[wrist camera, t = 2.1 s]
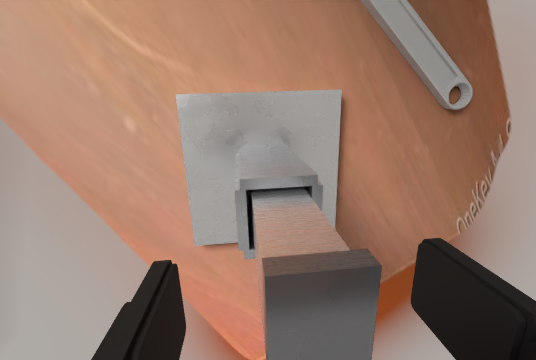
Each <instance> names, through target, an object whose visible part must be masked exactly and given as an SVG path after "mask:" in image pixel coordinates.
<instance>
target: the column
mask: <svg viewBox="0 0 536 360" xmlns="http://www.w3.org/2000/svg"><path fill="white" fill-rule="evenodd" d="M249 199H250V208H251V218H252V227H253V237H254V247H255V256H256V266H257V276H258V285H259V295H260V305H261V314H262V324H263V334H264V343H265V353H266V360H371V359H372V350H373V341H374V332H375V323H376V314H377V305H378V296H379V287H380V278H381V269H382V265H381V264H380V263H379V262H378V261H377V260H376V258H375V257H374V256H373V255H372V254H371V253H370V251H369V250H368V249H360V250H350V249H349V247H348V246H347V245H346V243H345V242H344V241H343V239H342V238H341V237H340V235H339V234H338V233H337V231H336V230H335V229H334V227H333V226H332V225H331V223H330V222H329V221H328V219H327V218H326V217H325V215H324V214H323V213H322V211H321V210H320V208H319V207H318V206H317V204H316V203H315V202H314V200H313V199H312V198H311V196H310V195H309V194H308V192H307V191H306V190H305V188H304V187H303V186H302V187H286V188H270V189H254V190H249Z"/></svg>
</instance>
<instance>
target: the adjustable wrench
mask: <svg viewBox="0 0 536 360" xmlns="http://www.w3.org/2000/svg"><path fill="white" fill-rule="evenodd" d="M360 1H361V2H362V4H363V5H364V6H365V8H366V9H367V10H368V12H369V13H370V14H371V15H372V17H373V18H374V19H375V21H376V22H377V23H378V25H379V26H380V27H381V28H382V30H383V31H384V32H385V34H386V35H387V36H388V37H389V39H390V40H391V41H392V43H393V44H394V45H395V47H396V48H397V49H398V50H399V52H400V53H401V54H402V56H403V57H404V58H405V59H406V61H407V62H408V63H409V65H410V66H411V67H412V69H413V70H414V71H415V72H416V74H417V75H418V76H419V78H420V79H421V80H422V81H423V83H424V84H425V85H426V87H427V88H428V89H429V91H430V92H431V93H432V94H433V96H434V97H435V98H436V100H437V101H438V102H439V103H440V105H441V106H442V107H443V108H445V109H454V110H456V109H461V108H464V107H465V106H466V105H467V104H468V103H469V102H470V100H471V98H472V94H473V90H472V86H471V84H470V83H469V82H468V80H467V79H466V78H465V76H464V75H463V74H462V72H461V71H460V70H459V68H458V67H457V66H456V64H455V63H454V62H453V60H452V59H451V58H450V57H449V55H448V54H447V53H446V51H445V50H444V49H443V47H442V46H441V45H440V43H439V42H438V41H437V39H436V38H435V37H434V35H433V34H432V33H431V31H430V30H429V29H428V27H427V26H426V25H425V23H424V22H423V21H422V20H421V18H420V17H419V16H418V14H417V13H416V12H415V10H414V9H413V8H412V6H411V5H410V4H409V2H408V1H407V0H360ZM454 86H457V87H459V89H460V92H461V94H460V98H459V100H458V101H457V102H456V103H455V104H450V102H449V93H450V91H451V89H452V88H453V87H454Z"/></svg>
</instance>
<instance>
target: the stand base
mask: <svg viewBox="0 0 536 360" xmlns="http://www.w3.org/2000/svg"><path fill="white" fill-rule="evenodd" d="M341 94H342V90H309V91H275V92H240V93H206V94H176V101H177V109H178V117H179V125H180V133H181V141H182V148H183V156H184V164H185V172H186V180H187V188H188V196H189V204H190V212H191V220H192V228H193V236H194V244H195V246H199V245H211V244H224V243H236V242H238V248H239V251H240V250H244V258H245V259H254V258H256V256H255V247H254V237H253V227H252V218H251V208H250V199H249V190H254V189H270V188H286V187H302V186H303V187H304V188H305V190H306V191H307V192H308V194H309V195H310V196H311V198H312V199H313V200H314V202H315V203H316V204H317V206H318V207H319V208H320V210H321V211H322V213H323V214H324V215H325V217H326V218H327V219H328V221H329V222H330V223H331V225H332V226H333V227H334V229H335V219H336V198H337V177H338V156H339V135H340V115H341Z"/></svg>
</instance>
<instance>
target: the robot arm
mask: <svg viewBox="0 0 536 360" xmlns="http://www.w3.org/2000/svg"><path fill="white" fill-rule="evenodd" d="M411 304H412V307H413V309H414V311H415V312H416V313H417V314H418V315H419V317H420V318H421V319H422V320H423V321H424V322H425V324H426V325H427V326H428V327H429V328H430V329H431V331H432V332H433V333H434V334H435V335H436V337H437V338H438V339H439V340H440V341H441V343H442V344H443V345H444V346H445V347H446V348H447V350H448V351H449V352H450V353H451V354H452V356H453V357H454V358H455V359H456V360H536V301H535V300H533V299H532V298H530V297H529V296H527V295H526V294H524V293H523V292H521V291H520V290H518V289H516V288H515V287H514V286H512V285H510V284H509V283H508V282H506V281H504V280H503V279H502V278H500V277H499V276H497V275H495V274H494V273H492V272H491V271H489V270H488V269H486V268H485V267H483V266H482V265H480V264H479V263H477V262H476V261H474V260H473V259H471V258H470V257H468V256H467V255H465V254H464V253H462V252H461V251H459V250H458V249H456V248H455V247H453V246H452V245H450V244H449V243H447V242H446V241H444V240H443V239H441V238H432V239H424V240H423V241H422V243H420V244H419V246H418V252H417V259H416V266H415V274H414V280H413V287H412V295H411ZM185 332H186V321H185V314H184V308H183V301H182V294H181V287H180V280H179V273H178V267H177V264H172V262H171V260H164V261H154V262H153V263H152V265H151V267H150V269H149V271H148V272H147V274H146V276H145V278H144V280H143V281H142V283H141V285H140V287H139V288H138V290H137V292H136V294H135V296H134V297H133V299H132V301H131V302H127V303H125V304H124V306H123V307H122V308H121V310H120V312H119V314H118V316H117V317H116V319H115V320H114V322H113V324H112V325H111V327H110V329H109V331H108V332H107V334H106V336H105V337H104V339H103V341H102V343H101V344H100V346H99V348H98V349H97V351H96V353H95V354H94V356H93V358H92V359H91V360H179V358H180V354H181V350H182V345H183V341H184V337H185Z"/></svg>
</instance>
